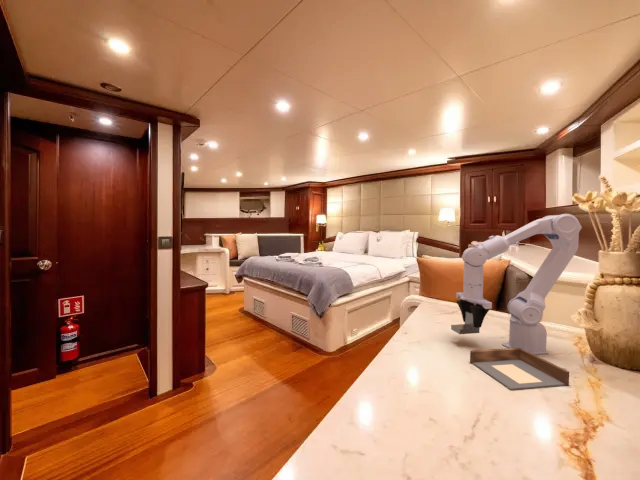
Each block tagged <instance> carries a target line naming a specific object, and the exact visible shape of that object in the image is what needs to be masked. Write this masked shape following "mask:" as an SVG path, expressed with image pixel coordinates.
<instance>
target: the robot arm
mask: <svg viewBox="0 0 640 480" xmlns="http://www.w3.org/2000/svg"><path fill="white" fill-rule="evenodd" d="M582 229H583V227H582V225H581V223H580V221H579V220H578V218H577V217H576V216H575V215H573V214H571V213H562V214H553V215H545V216H544V217H542V218H538V219H536V220H535V219H534V220H533V221H531V222H529V223H527V224H524V225H523V226H521V227H520V228H517V229H516V230H514V231H512V232H510V233H508V234H505V235H504V236H501V235H491V236H488V239H486V240H484V241H482V242H480V243H475V244H474V247H468V248H466V249H465V250H464V251H463V252H462V255H461V259H462V261H463V263H464V264H463V277H462V278H463V280H462V281H463V283H462V284H463V286H462V287H463V288H462V291H461V292H460V291H459V292H455V298H456V299H460V300H456V304H457V306H458V307H459V310H460V312H461V313H460V314H461V318H462V321H463V322H464V323H465V311H472V314H473V325H474V327H475V328H482V325H483V322H484V319H485V317H486V315H487V314H488V312H489V311H490V310H491V309H493V302H491V301H489V300H487V299H486V298H484V265H485V264H486V262H487V260H491V259H493V258H495V257H497V256H500V255H502V254H504V253H506V252H508V251H509V248H510V246H511V245H514V244H516V243H518V242H521V241H523V240H525V239H528V238H530V237H532V236H533V237H534V236H535V235H544V237H546V238H547V239H548V240H549V243H550V244H551V246H552V248H551V250H550V251H549V253H548V254H547V256H546V258H545V259H544V261H543V262H542V263H541V264H540V266H539V268H538V270H537V271H536V273H535V274H534V275H533V277H532V279H531V280H530V281H529V283H528V285H527V286H526V288H525V289H524V290H522V291H520V292H519V293H517V295H516V296H515V297H514V298H511V299H510V300H509V302H508V303H507V306H506V307H507V311H508V313H509V314H510V317H509V331H508V332H509V335H508V342H503V343H502V344H501V345H502V346H503V347H505V348H522V349H524V350H526V351H528V352H530V353H532V354H534V355H546V354H547V355H549V353H550V352H549V351H548V350H547V342H548V341H547V338H548V334H547V328H546V327H545V326H544V324H543V323H541V321H542V320H543V313H544V310H545V309H546V303H545V302H546V301H545V299H546V297H547V296H548V295H549V293H550V291H551V290H552V289H553V287H554V286H555V284H556V283H557V281H558V279H559V278H560V277H561V275H562V274H563V272H564V271H565V269H566V268H567V267H568V264H570V262H571V260H572V259H573V258H574V256H575V255H576V254H577V251H578V249H579V242H580V241H579V240H580V239H579V237H580V235H579V234H580V231H581V230H582Z"/></svg>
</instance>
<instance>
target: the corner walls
mask: <svg viewBox="0 0 640 480" xmlns="http://www.w3.org/2000/svg"><path fill="white" fill-rule="evenodd" d="M469 351H470V352H469V362H471V364H472V363H473V362H488V361H503V360H518V359H520V360H521V361H523V362H525V363H527V364H529V365H531V366H533V367H534V368H536V369H538V370H540V371H542V372H544V373H546V374H547V375H549V376H551V377H553V378H555V379H557V380H559V381H560V382H562V383H564V384H565V385H566V386H567V385H568V384H569V385H570V371H568V370H567V369H565V368H563V367H560V366H559V365H556V364H554V363H552V362H550V361H548V360H546V359H544V358H542V357H541V356H538V355H537V354H535V355H534V354H532V353H530V352H528V351H526V350H524V349H522V348H507V347H505V348H493V349H492V348H491V349H474V350H473V349H472V350H469ZM569 385H568V386H569ZM566 386H565V387H566Z"/></svg>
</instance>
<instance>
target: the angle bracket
mask: <svg viewBox="0 0 640 480" xmlns="http://www.w3.org/2000/svg"><path fill="white" fill-rule="evenodd" d="M450 327H451V329H450V330H452V331H453V332H455V333H457V334H458V335H468V334H472V335H473V334H480V328H481V327H480V328H475V327H474V325H473V314H472V311H465V322H464V323H463V324H462V323H461V324H460V323H459V324H451V325H450Z"/></svg>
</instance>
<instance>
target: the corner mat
mask: <svg viewBox="0 0 640 480" xmlns="http://www.w3.org/2000/svg"><path fill="white" fill-rule="evenodd" d="M469 362H470V361H469ZM470 363H471V362H470ZM471 364H472V365H473V366H474V367H476V368H477V369H479V370H481V371H482V372H484V373H485V374H486V375H488V376H489V377H490V378H492V379H493V380H495V381H497V382H498V383H499V384H501V385H503V386H504V387H505V388H507V389H508V390H509V391H518V390H520V391H521V390H529V389H530V390H531V389H543V388H554V387H555V388H556V387H566V385H565V384H564V383H562V382H560V381H559V380H557V379H555V378H553V377H551V376H549V375H547V374H546V373H544V372H542V371H540V370H538V369H536V368H534V367H533V366H531V365H529V364H527V363H525V362H523V361H521V360H520V359H518V360H503V361H488V362H473V363H471ZM567 386H570V383H569V384H568V385H567Z"/></svg>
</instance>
